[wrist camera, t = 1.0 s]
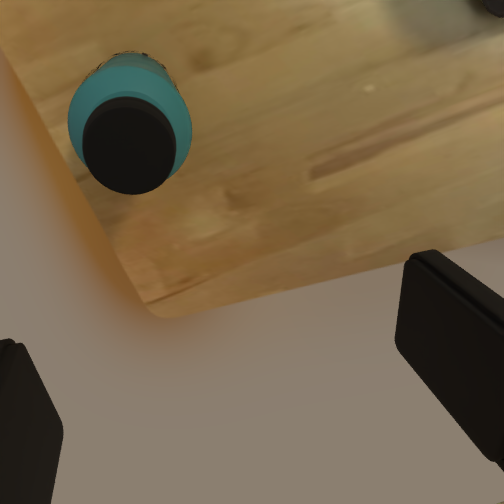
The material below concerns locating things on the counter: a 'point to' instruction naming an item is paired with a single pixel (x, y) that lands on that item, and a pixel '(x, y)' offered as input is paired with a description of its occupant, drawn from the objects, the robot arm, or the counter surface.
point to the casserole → (495, 7)
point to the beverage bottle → (130, 124)
